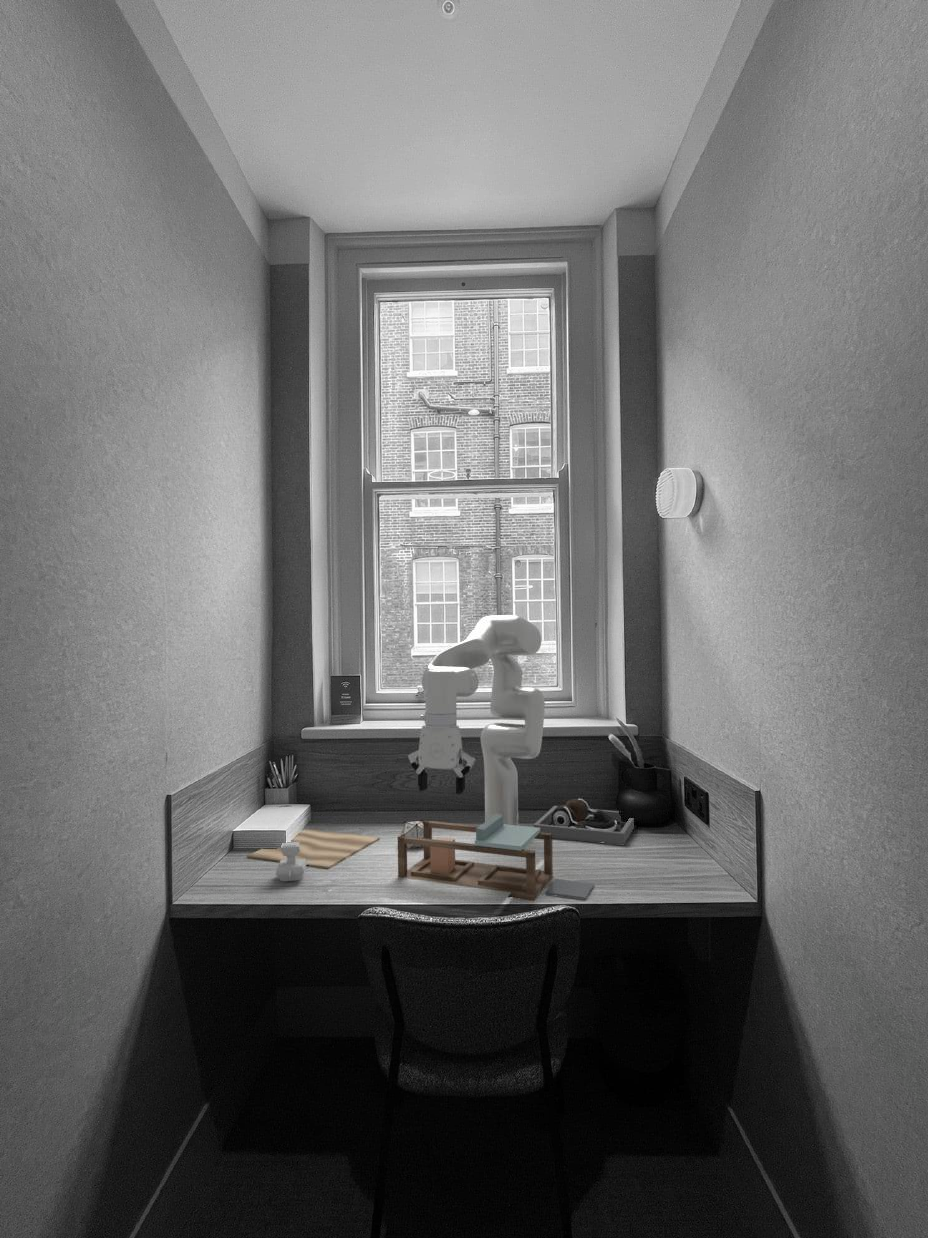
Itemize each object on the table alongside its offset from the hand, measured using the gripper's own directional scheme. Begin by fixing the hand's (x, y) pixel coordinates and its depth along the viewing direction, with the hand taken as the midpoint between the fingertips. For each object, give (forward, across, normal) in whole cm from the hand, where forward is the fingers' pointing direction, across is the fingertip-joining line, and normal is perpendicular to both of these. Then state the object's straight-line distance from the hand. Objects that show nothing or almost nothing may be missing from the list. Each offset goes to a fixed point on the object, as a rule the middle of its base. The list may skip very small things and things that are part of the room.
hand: (441, 791), depth 174 cm
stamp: (+21, -33, -14) cm, 42 cm away
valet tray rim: (+20, +24, +50) cm, 58 cm away
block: (+19, 0, +1) cm, 19 cm away
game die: (+20, -15, +16) cm, 30 cm away
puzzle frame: (+20, +8, +1) cm, 22 cm away
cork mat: (+20, -41, +8) cm, 46 cm away
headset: (+20, +24, +50) cm, 59 cm away
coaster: (+20, +31, +2) cm, 37 cm away
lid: (+10, +17, 0) cm, 19 cm away
